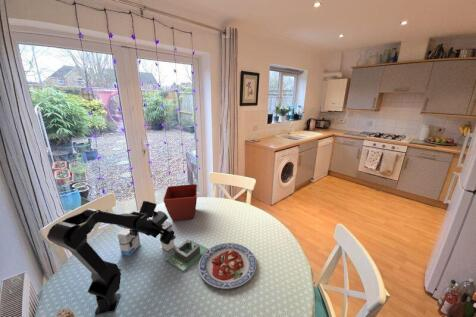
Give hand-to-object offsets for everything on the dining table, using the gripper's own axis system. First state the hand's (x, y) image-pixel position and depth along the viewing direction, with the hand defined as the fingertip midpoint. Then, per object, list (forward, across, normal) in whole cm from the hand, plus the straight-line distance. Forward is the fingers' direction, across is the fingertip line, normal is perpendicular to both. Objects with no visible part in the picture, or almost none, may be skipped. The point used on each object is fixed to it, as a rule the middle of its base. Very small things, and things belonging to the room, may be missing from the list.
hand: (169, 234), depth 104 cm
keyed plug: (+4, 0, +6) cm, 7 cm away
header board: (+5, -13, +5) cm, 14 cm away
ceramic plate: (+9, -32, +1) cm, 34 cm away
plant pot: (+22, +16, -12) cm, 29 cm away
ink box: (-4, +14, +14) cm, 20 cm away
